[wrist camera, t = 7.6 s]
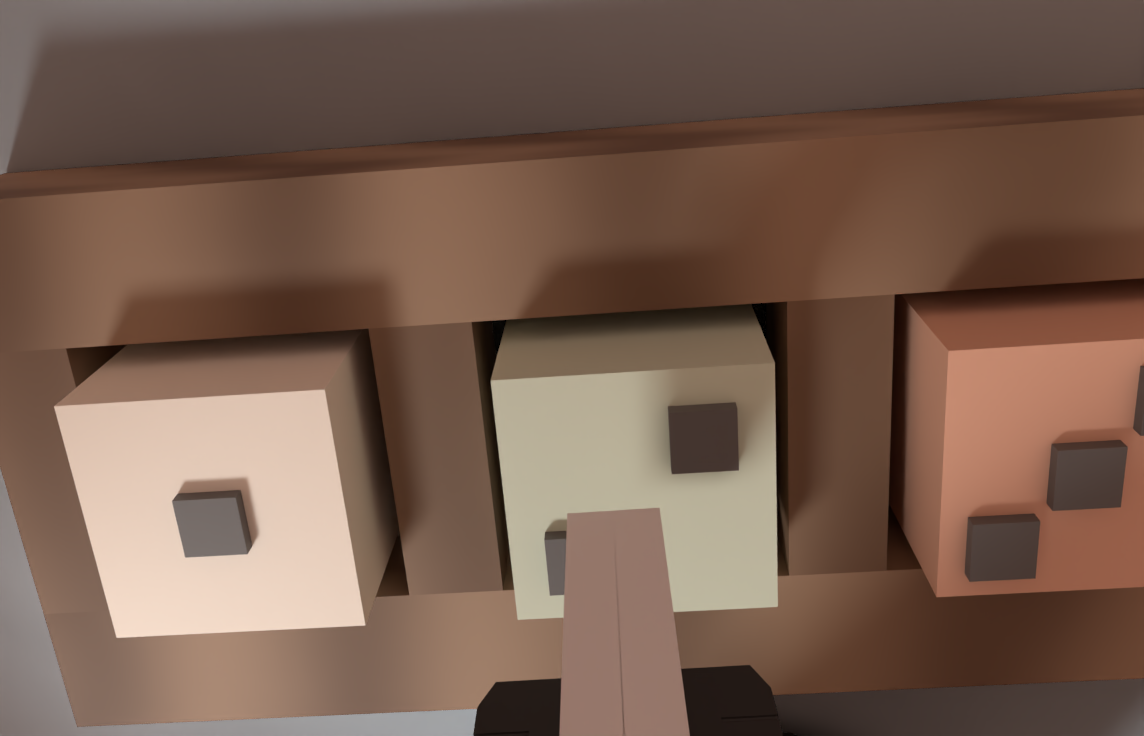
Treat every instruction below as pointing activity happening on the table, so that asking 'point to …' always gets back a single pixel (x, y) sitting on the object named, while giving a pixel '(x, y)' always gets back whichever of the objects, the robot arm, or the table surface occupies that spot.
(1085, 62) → the table surface
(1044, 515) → the die
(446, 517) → the wooden dice tray
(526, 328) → the die
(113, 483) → the die
